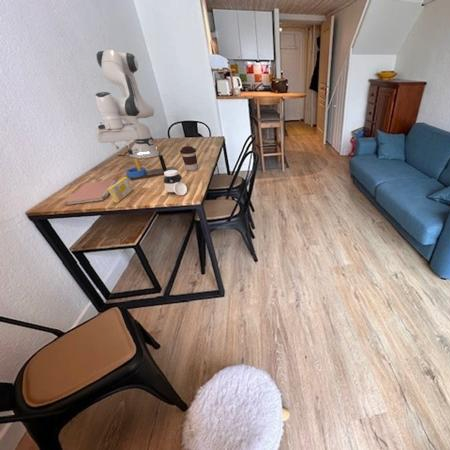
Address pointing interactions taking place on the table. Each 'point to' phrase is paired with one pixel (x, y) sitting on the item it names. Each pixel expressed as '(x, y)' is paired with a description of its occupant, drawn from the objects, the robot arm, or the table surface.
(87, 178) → the table surface
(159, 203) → the table surface
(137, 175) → the tape roll
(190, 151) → the coffee cup
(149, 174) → the peg rack
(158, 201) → the table surface
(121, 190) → the candy box
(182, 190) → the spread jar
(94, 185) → the notebook
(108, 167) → the table surface
